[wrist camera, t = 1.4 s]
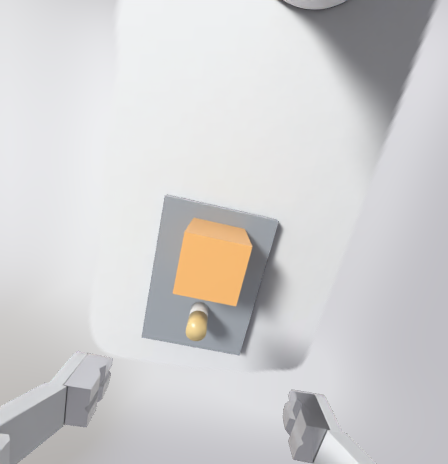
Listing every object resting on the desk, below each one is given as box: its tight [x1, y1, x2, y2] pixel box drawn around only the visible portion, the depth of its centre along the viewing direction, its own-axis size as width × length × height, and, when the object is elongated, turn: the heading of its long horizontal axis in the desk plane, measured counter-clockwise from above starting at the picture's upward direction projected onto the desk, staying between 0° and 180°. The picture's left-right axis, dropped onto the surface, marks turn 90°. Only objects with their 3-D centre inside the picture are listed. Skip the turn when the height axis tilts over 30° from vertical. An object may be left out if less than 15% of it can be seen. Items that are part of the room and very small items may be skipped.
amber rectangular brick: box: [173, 218, 252, 306], centre depth 25 cm, size 6×6×7 cm
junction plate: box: [142, 195, 279, 355], centre depth 28 cm, size 20×14×6 cm
